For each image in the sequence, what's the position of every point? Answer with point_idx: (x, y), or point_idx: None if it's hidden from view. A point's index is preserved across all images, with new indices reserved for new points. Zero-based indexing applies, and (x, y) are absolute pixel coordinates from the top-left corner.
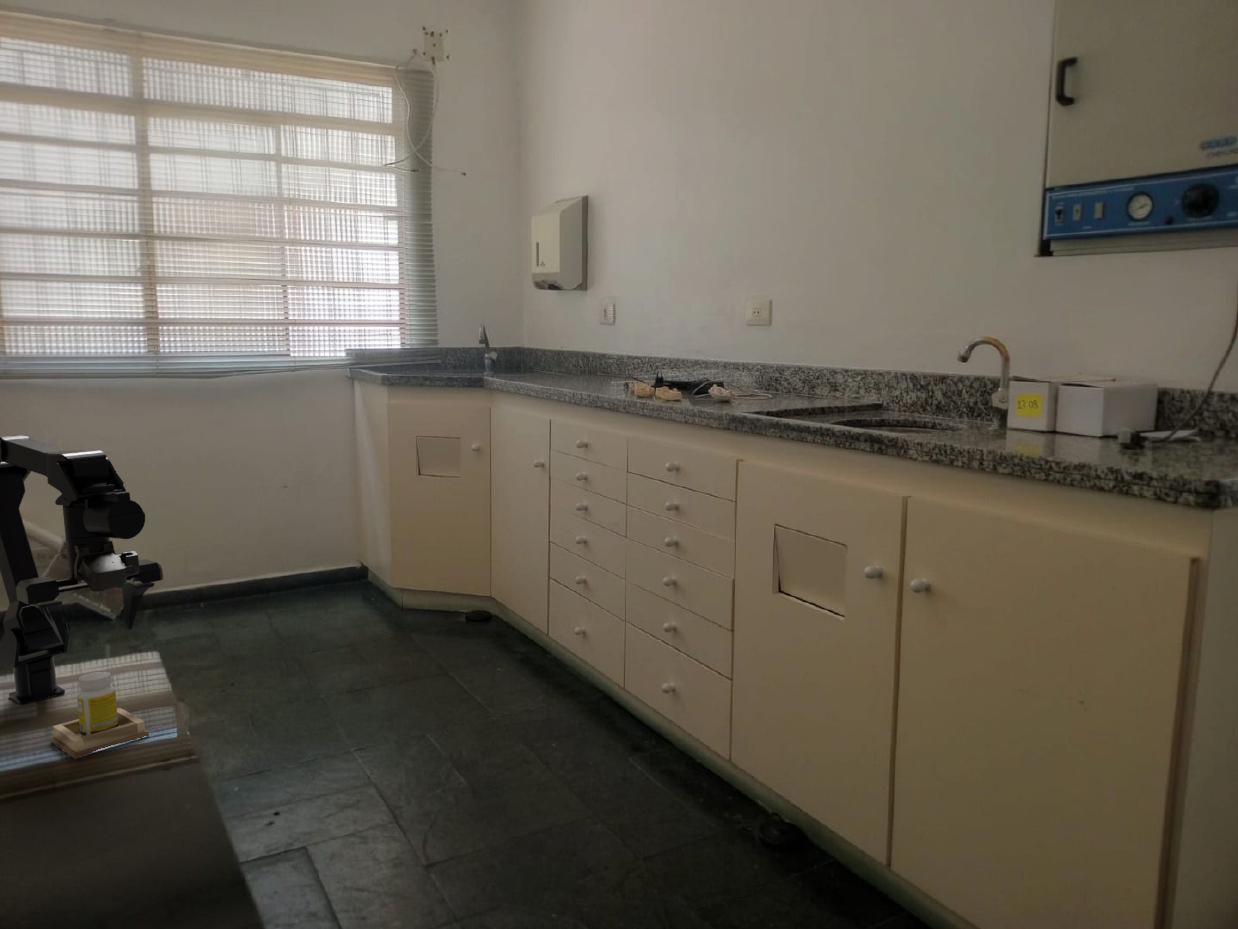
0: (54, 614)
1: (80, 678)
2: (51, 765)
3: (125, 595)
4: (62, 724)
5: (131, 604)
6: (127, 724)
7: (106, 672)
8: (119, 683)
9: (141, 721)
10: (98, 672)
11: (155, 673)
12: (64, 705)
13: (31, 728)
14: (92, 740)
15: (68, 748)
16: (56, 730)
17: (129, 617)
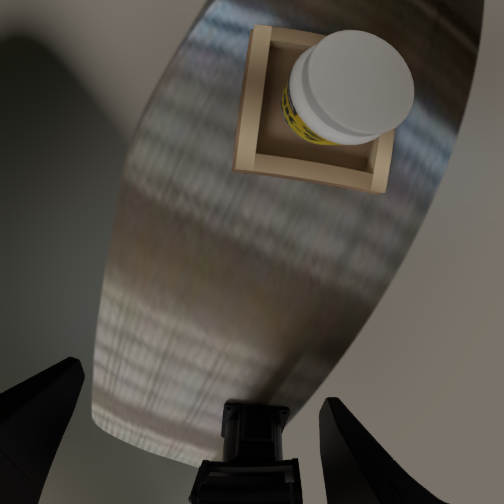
0: (422, 500)
1: (408, 103)
2: (421, 82)
3: (26, 479)
4: (369, 182)
5: (6, 418)
6: (288, 38)
7: (316, 74)
8: (147, 377)
9: (258, 28)
10: (336, 105)
11: (95, 366)
12: (251, 363)
13: (347, 302)
14: None
15: None
16: (388, 167)
17: (48, 386)
